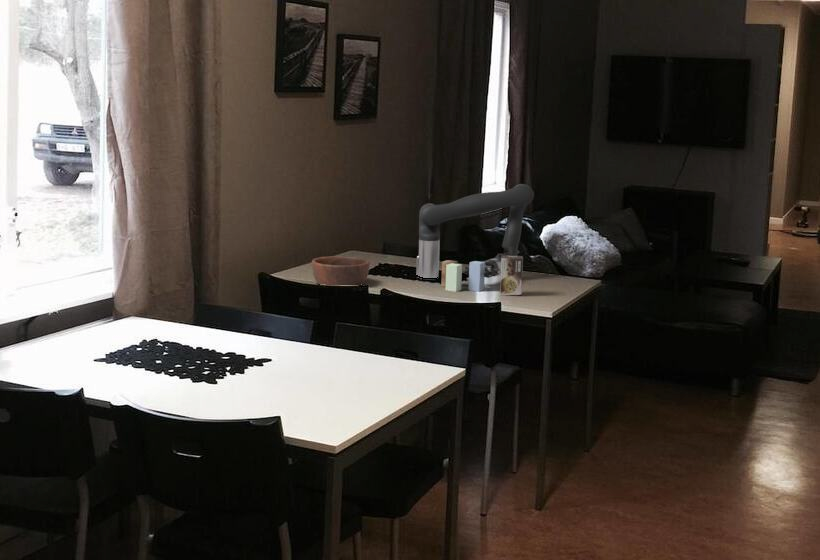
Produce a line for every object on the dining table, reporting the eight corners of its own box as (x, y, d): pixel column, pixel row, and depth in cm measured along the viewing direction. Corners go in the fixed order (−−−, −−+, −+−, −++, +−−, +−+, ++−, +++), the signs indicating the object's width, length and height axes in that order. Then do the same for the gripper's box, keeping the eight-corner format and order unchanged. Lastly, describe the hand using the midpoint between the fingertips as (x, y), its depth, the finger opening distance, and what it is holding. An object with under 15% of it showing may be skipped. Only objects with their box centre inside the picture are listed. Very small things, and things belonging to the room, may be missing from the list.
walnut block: (441, 286, 473) (442, 261, 471) (446, 285, 478) (447, 260, 476) (451, 288, 471) (452, 262, 469) (456, 286, 475) (457, 261, 473)
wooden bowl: (379, 282, 480) (379, 259, 478) (352, 292, 457) (352, 267, 455) (329, 276, 490) (329, 254, 488) (300, 285, 467) (300, 262, 466)
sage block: (445, 290, 466) (446, 264, 464) (450, 288, 470) (451, 263, 468) (455, 291, 463) (456, 266, 461) (461, 289, 468) (462, 264, 466)
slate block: (468, 290, 467) (469, 262, 465) (473, 288, 472) (474, 260, 469) (479, 291, 465) (480, 263, 463) (484, 289, 469) (485, 262, 467)
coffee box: (521, 293, 463) (523, 255, 460) (521, 296, 457) (523, 258, 454) (500, 292, 464) (501, 254, 461) (499, 295, 458) (501, 257, 455)
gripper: (476, 257, 482) (460, 262, 468) (506, 261, 475) (491, 266, 461) (476, 274, 483) (459, 280, 469) (505, 278, 477) (490, 283, 463)
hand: (475, 273), depth 465 cm, fingers open, 8 cm apart
